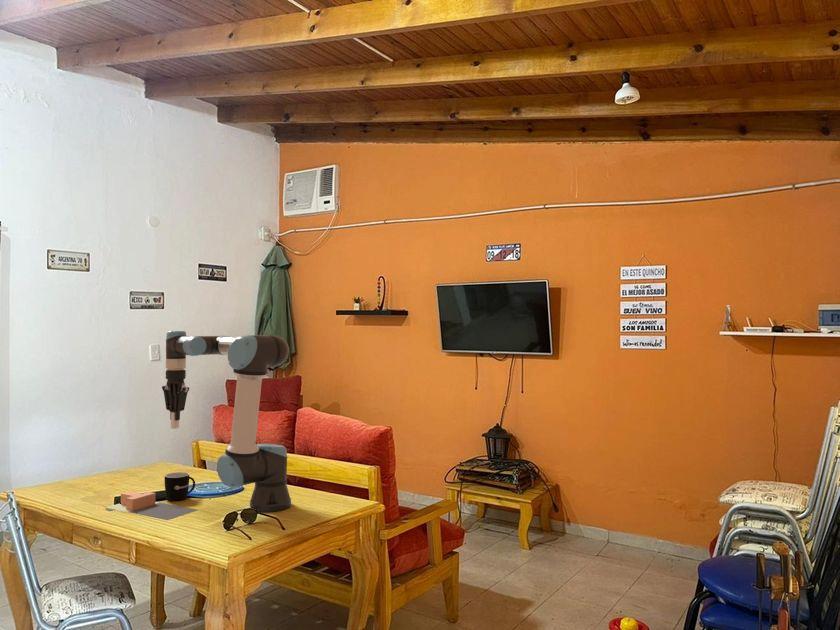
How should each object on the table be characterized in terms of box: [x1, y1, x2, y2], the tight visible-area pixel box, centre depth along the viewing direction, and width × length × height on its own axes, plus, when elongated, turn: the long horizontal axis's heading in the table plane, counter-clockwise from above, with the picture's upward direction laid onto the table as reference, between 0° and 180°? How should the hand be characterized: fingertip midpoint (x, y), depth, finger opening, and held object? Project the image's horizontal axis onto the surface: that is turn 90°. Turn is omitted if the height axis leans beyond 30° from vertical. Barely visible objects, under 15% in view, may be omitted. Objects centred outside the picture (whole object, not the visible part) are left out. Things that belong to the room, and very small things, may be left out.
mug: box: [164, 471, 196, 503], centre depth 249 cm, size 12×9×10 cm
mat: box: [105, 501, 198, 521], centre depth 235 cm, size 32×14×1 cm, turn 63°
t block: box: [120, 491, 156, 511], centre depth 239 cm, size 10×10×4 cm
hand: (174, 428), depth 258 cm, fingers closed
